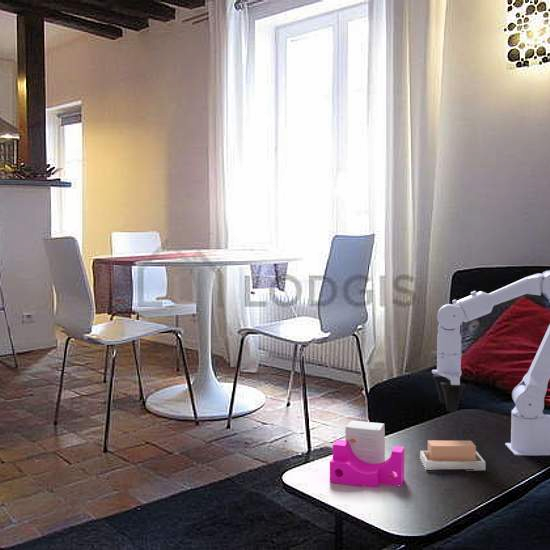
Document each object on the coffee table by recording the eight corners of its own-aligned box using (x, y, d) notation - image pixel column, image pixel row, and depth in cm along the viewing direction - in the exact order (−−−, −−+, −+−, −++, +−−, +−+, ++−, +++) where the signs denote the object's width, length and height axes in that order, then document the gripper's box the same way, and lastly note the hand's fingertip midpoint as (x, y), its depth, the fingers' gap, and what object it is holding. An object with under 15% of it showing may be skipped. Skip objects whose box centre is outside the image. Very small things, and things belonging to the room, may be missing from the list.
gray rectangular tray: (476, 461, 151) (476, 451, 151) (485, 473, 144) (485, 462, 144) (419, 461, 151) (419, 450, 151) (425, 472, 144) (425, 461, 144)
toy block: (329, 482, 139) (329, 448, 139) (337, 472, 145) (337, 439, 145) (399, 491, 134) (399, 456, 134) (404, 480, 140) (404, 446, 139)
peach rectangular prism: (427, 461, 150) (427, 440, 149) (470, 461, 149) (471, 440, 149) (431, 467, 146) (431, 446, 145) (475, 468, 145) (475, 446, 145)
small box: (385, 468, 147) (385, 423, 146) (380, 477, 142) (380, 430, 141) (351, 464, 150) (351, 419, 149) (345, 472, 144) (345, 426, 144)
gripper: (426, 347, 166) (426, 399, 167) (438, 358, 152) (438, 415, 153) (454, 347, 166) (453, 399, 167) (469, 358, 152) (468, 415, 152)
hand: (448, 407), depth 160 cm, fingers open, 7 cm apart
